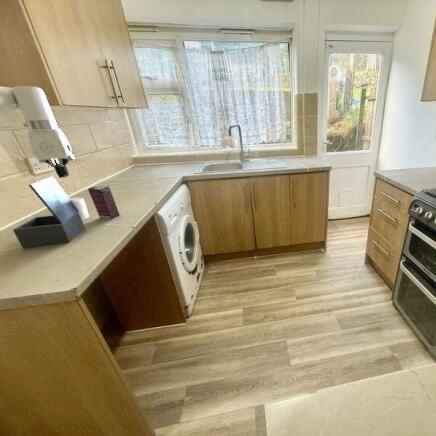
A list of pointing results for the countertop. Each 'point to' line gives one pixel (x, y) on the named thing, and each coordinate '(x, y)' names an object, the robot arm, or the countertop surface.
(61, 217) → the lid
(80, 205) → the white cup
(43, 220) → the box
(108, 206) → the supplement box
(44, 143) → the robot arm
